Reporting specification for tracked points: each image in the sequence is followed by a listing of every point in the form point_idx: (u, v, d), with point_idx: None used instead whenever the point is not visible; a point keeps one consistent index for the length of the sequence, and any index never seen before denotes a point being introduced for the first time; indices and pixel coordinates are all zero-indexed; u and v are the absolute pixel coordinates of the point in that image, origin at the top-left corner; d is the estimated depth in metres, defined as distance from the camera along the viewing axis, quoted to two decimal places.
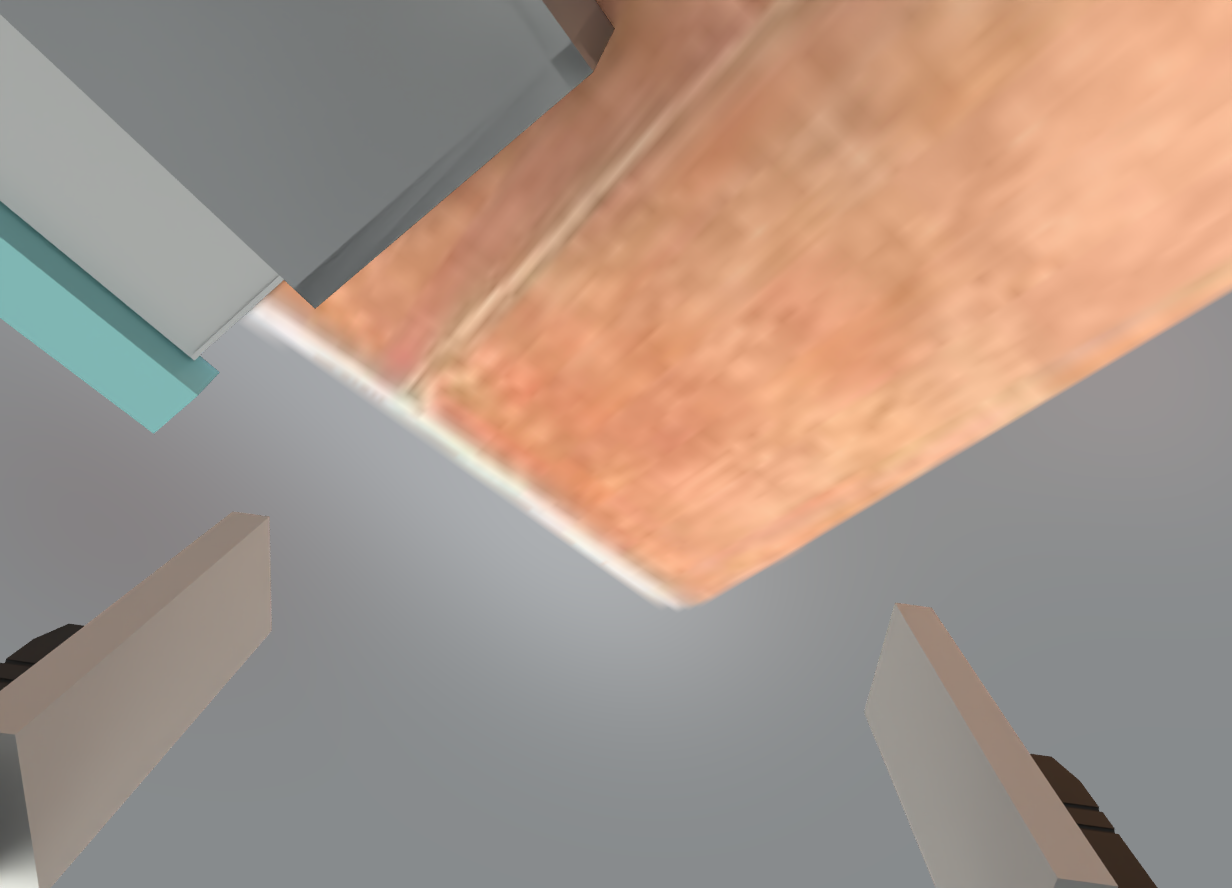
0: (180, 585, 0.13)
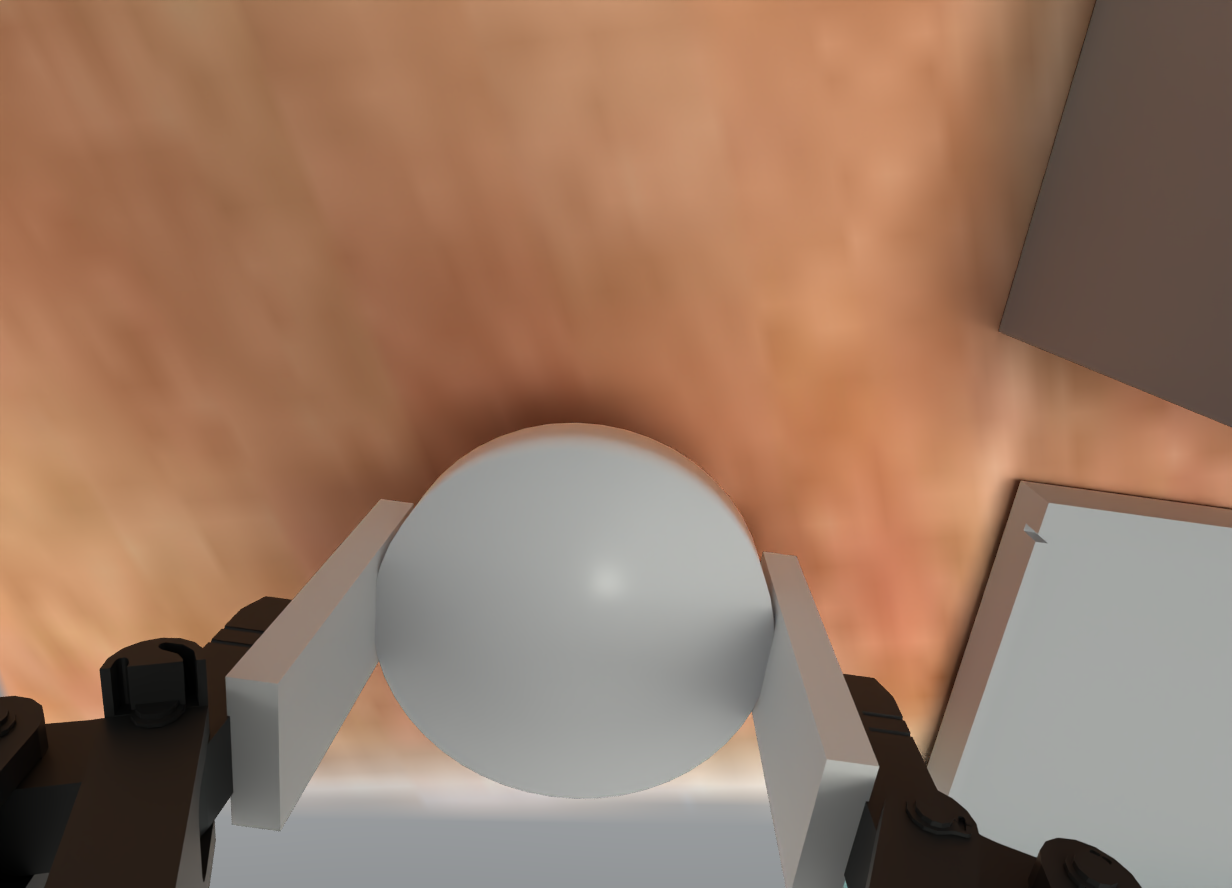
0: (361, 562, 0.14)
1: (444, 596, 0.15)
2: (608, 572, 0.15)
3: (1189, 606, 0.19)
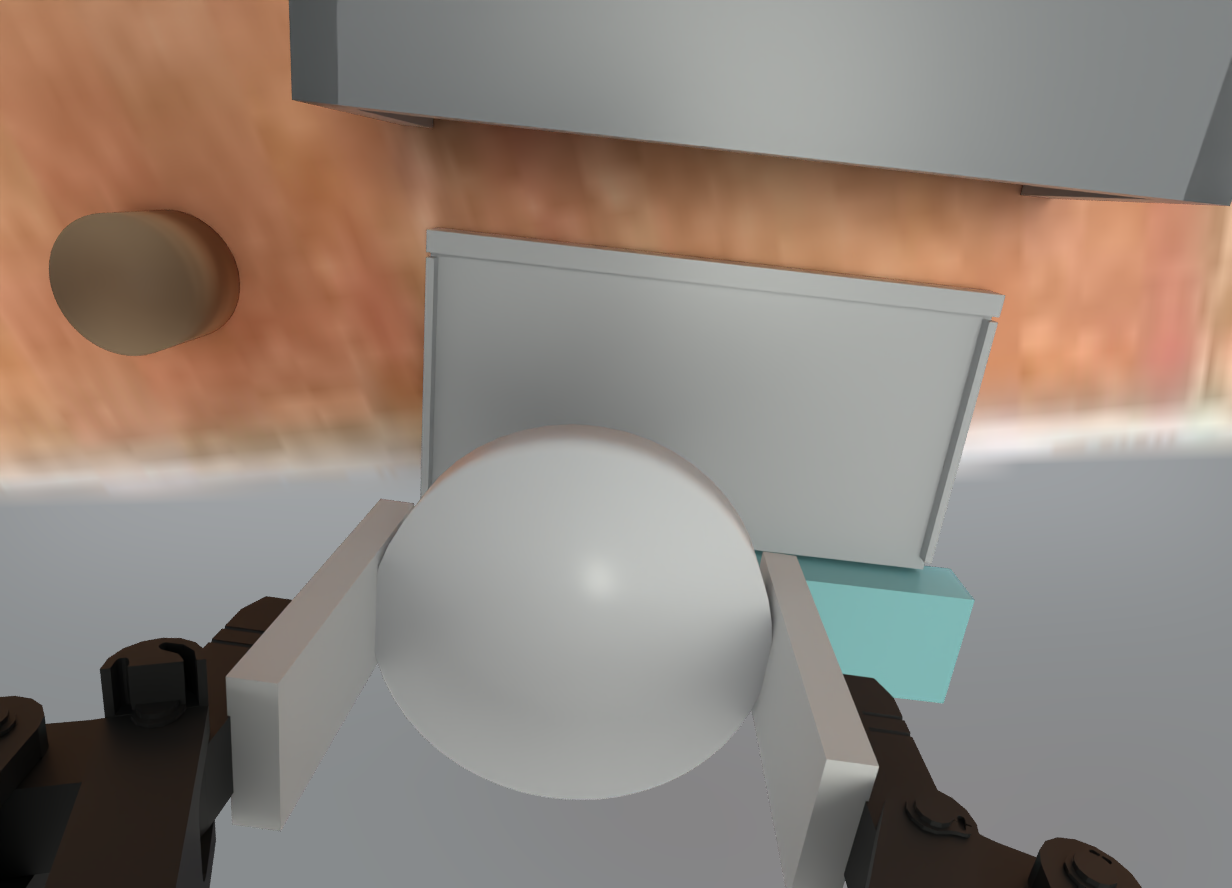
0: (362, 562, 0.14)
1: (442, 598, 0.15)
2: (606, 574, 0.15)
3: (548, 306, 0.29)
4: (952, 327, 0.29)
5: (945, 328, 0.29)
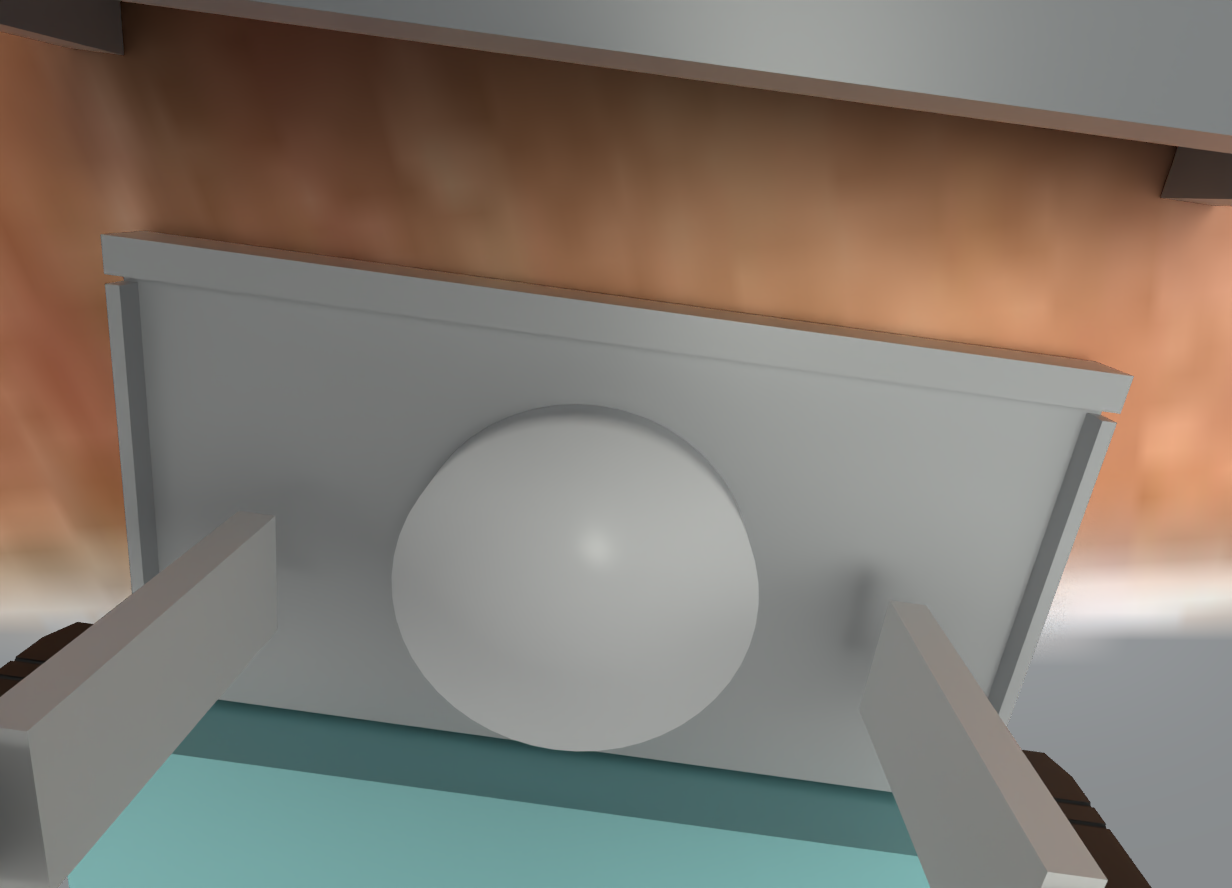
0: (188, 583, 0.13)
1: (458, 562, 0.16)
2: (608, 539, 0.16)
3: (334, 371, 0.17)
4: (1032, 425, 0.16)
5: (1021, 427, 0.16)
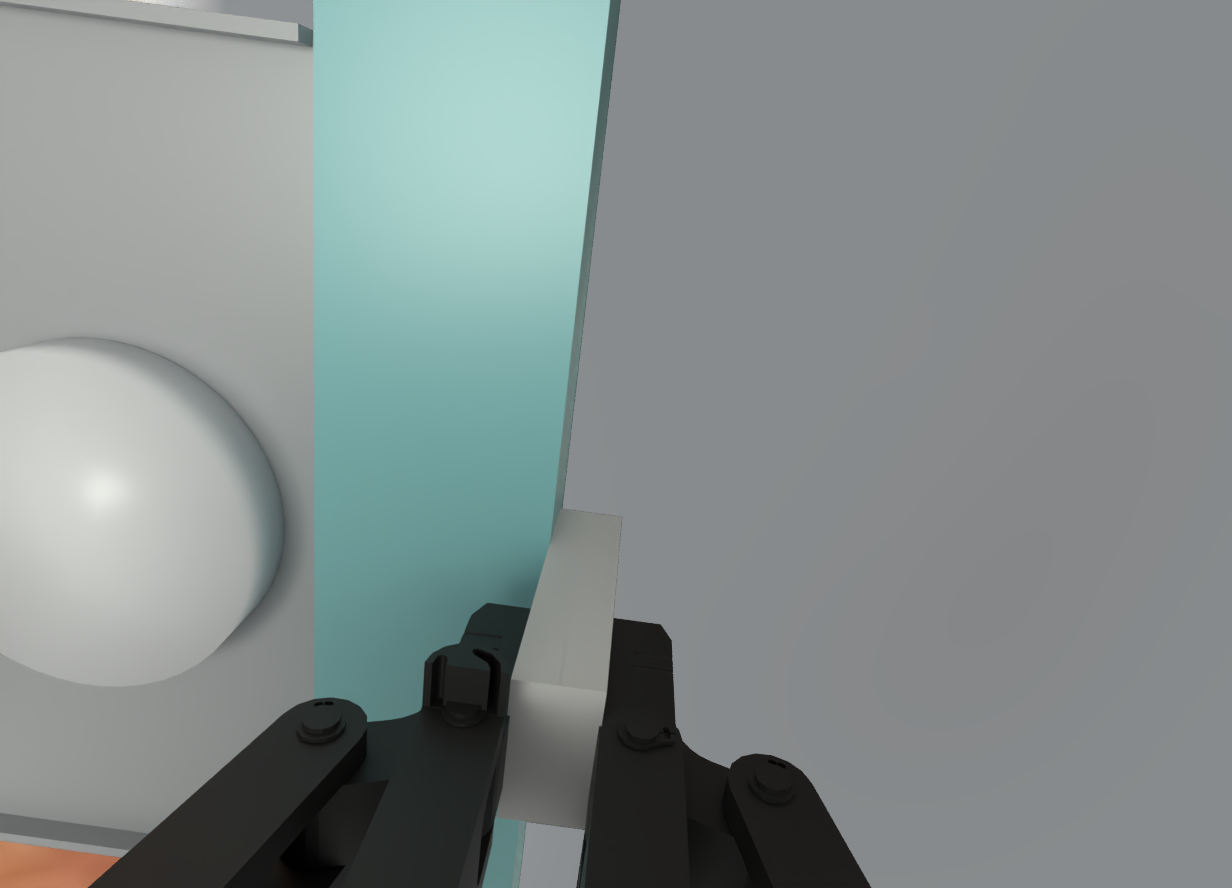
0: (574, 570, 0.15)
1: (51, 627, 0.17)
2: None
3: None
4: None
5: None
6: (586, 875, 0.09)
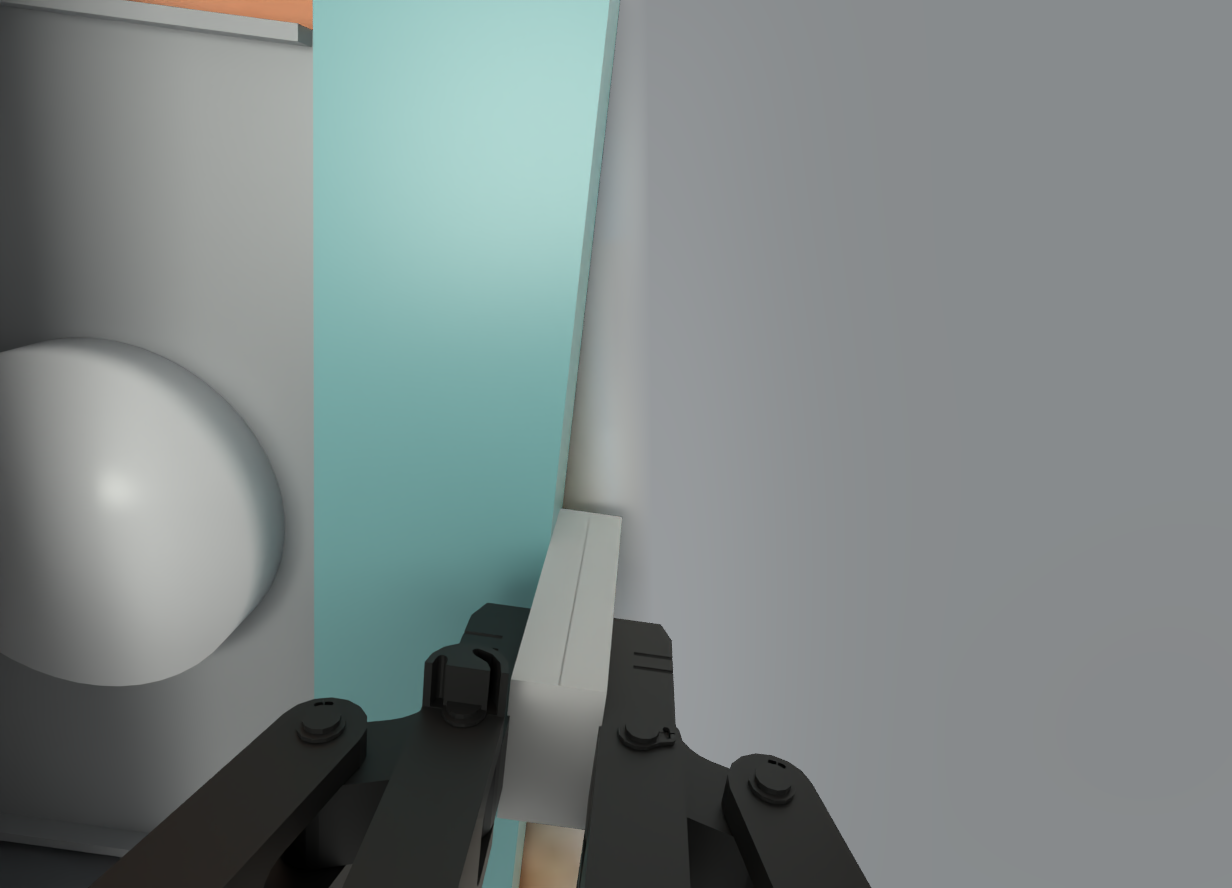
0: (574, 570, 0.15)
1: (50, 627, 0.17)
2: None
3: None
4: None
5: None
6: (586, 875, 0.09)
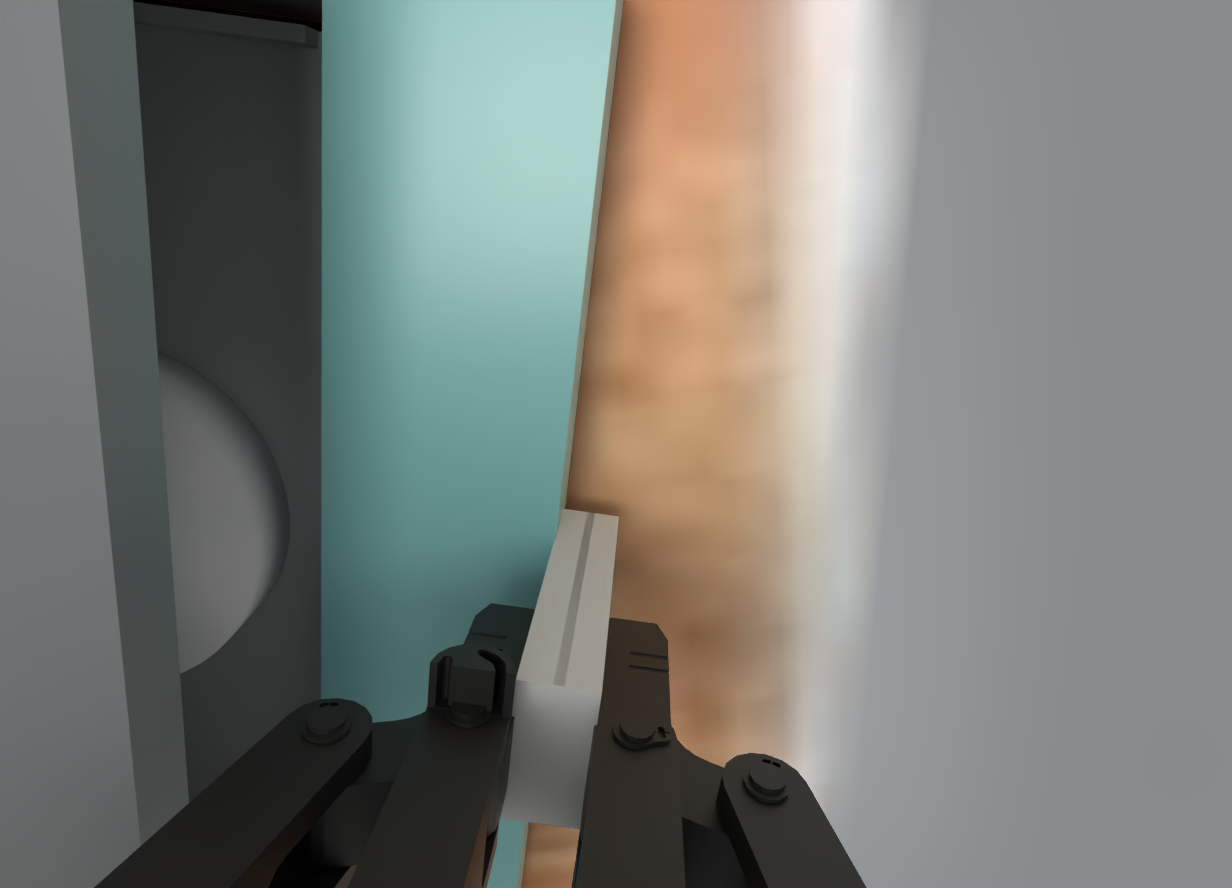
0: (578, 570, 0.15)
1: None
2: None
3: None
4: None
5: None
6: (581, 875, 0.09)
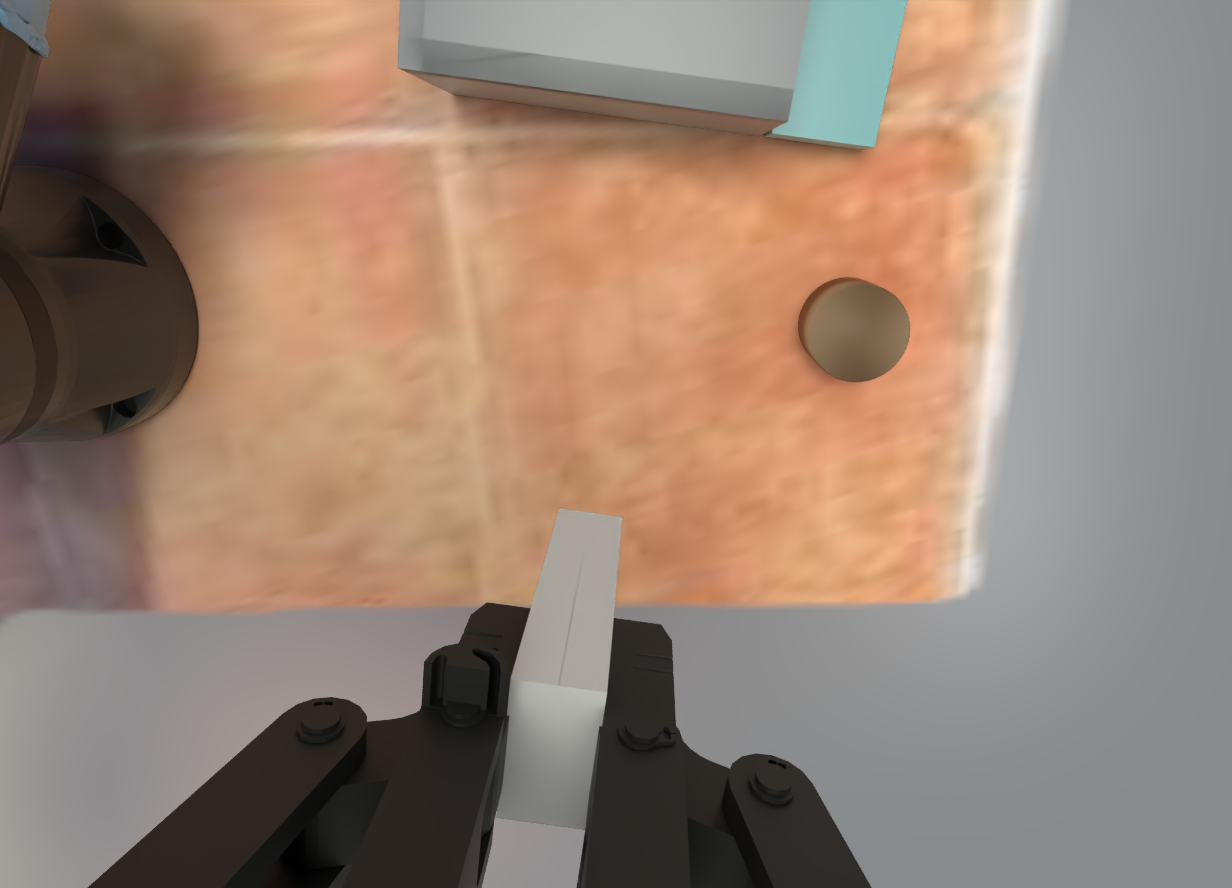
0: (573, 570, 0.15)
1: None
2: None
3: None
4: None
5: None
6: (587, 875, 0.09)
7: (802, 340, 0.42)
